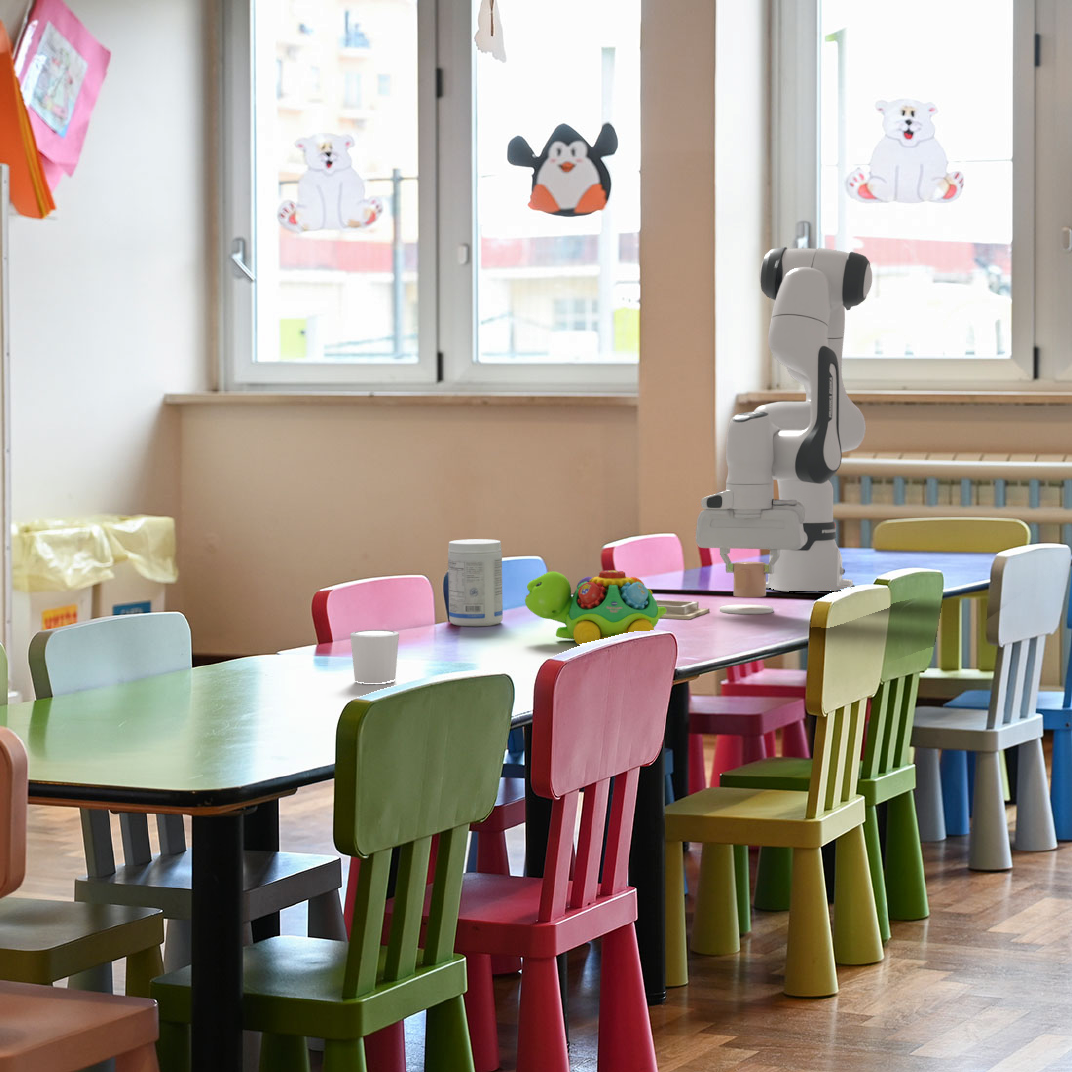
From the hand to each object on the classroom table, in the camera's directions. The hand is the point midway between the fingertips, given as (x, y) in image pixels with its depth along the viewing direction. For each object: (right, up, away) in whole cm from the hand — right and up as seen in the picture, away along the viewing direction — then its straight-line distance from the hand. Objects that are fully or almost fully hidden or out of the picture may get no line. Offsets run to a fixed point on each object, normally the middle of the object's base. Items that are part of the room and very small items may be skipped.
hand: (749, 573), depth 321 cm
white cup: (-63, -14, -79) cm, 101 cm away
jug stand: (-16, -8, -3) cm, 18 cm away
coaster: (-1, -7, +1) cm, 7 cm away
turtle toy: (-30, -11, -38) cm, 50 cm away
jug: (-1, -4, -1) cm, 5 cm away
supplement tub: (-51, -9, -16) cm, 54 cm away
